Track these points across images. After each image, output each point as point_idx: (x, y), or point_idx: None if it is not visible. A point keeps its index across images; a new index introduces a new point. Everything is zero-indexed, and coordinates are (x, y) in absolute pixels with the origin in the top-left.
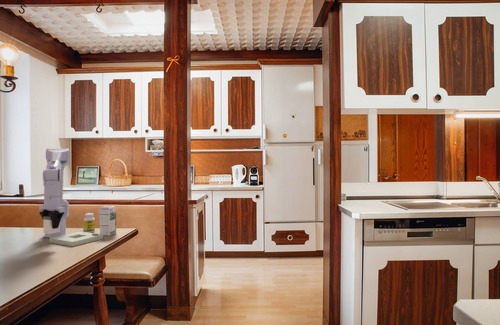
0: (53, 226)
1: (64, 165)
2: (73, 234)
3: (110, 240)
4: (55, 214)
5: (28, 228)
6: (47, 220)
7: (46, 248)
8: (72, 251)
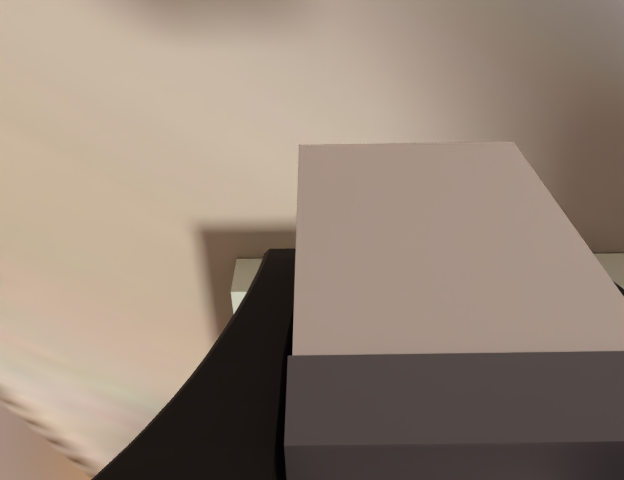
0: (255, 278)
1: None
2: None
3: None
4: None
5: None
6: (430, 339)
7: (431, 82)
8: (14, 146)
